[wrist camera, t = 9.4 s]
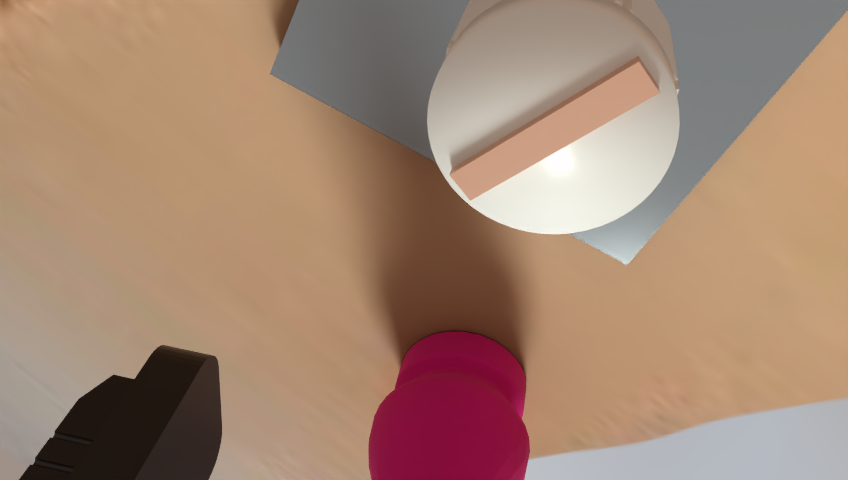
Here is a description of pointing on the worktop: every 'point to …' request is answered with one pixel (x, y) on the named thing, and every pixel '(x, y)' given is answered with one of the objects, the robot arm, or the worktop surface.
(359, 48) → the stand
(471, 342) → the pepper mill
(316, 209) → the worktop surface
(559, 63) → the cap
